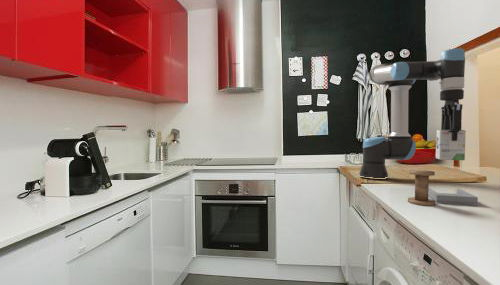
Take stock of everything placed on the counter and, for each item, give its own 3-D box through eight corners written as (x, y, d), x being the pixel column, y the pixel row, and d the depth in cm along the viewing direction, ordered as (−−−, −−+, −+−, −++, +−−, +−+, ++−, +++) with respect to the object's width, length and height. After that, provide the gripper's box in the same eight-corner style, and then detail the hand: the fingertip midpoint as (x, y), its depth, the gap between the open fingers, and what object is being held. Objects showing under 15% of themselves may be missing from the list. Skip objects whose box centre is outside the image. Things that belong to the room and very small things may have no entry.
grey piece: (425, 194, 119) (425, 187, 118) (460, 196, 115) (461, 189, 115) (436, 202, 105) (437, 195, 105) (477, 205, 101) (478, 197, 101)
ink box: (439, 159, 109) (440, 129, 108) (435, 158, 114) (436, 129, 113) (465, 160, 106) (466, 129, 106) (459, 159, 111) (461, 129, 110)
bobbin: (405, 198, 111) (405, 169, 111) (430, 200, 109) (431, 170, 108) (411, 204, 103) (412, 172, 102) (439, 206, 100) (440, 173, 100)
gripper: (432, 93, 119) (431, 147, 120) (450, 86, 101) (448, 150, 102) (453, 92, 116) (451, 147, 118) (474, 85, 99) (472, 150, 100)
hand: (450, 148), depth 110 cm, fingers closed on ink box, 5 cm apart
